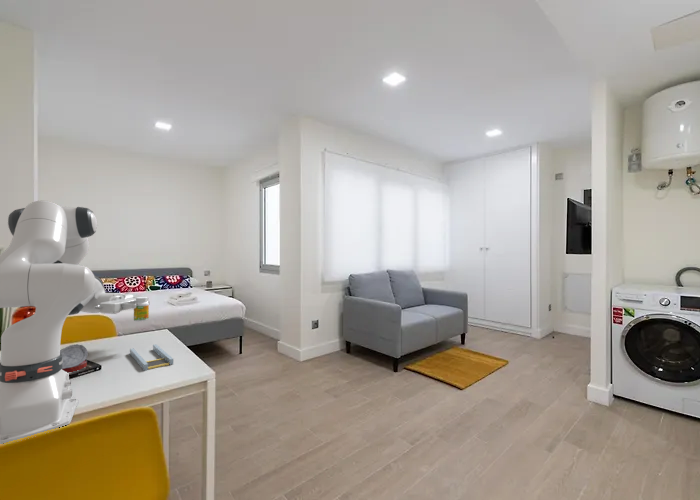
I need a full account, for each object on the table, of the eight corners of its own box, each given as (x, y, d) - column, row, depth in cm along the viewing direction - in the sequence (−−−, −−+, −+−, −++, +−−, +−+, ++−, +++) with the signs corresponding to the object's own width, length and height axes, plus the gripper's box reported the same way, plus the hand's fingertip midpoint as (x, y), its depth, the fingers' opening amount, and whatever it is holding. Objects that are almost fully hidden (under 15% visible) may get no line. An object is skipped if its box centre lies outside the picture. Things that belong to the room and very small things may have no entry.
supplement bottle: (135, 322, 135) (136, 298, 135) (132, 320, 138) (132, 297, 138) (150, 320, 139) (150, 297, 139) (146, 318, 142) (146, 296, 142)
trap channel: (173, 364, 121) (173, 358, 121) (144, 370, 115) (144, 364, 115) (156, 348, 138) (156, 344, 138) (129, 353, 132) (129, 348, 132)
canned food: (87, 380, 117) (101, 356, 117) (57, 389, 107) (72, 363, 107) (66, 363, 119) (80, 339, 119) (35, 370, 109) (49, 344, 109)
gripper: (91, 299, 130) (123, 301, 128) (131, 292, 150) (159, 293, 148) (91, 315, 130) (123, 317, 128) (130, 306, 150) (158, 307, 149)
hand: (142, 304), depth 139 cm, fingers closed on supplement bottle, 5 cm apart
